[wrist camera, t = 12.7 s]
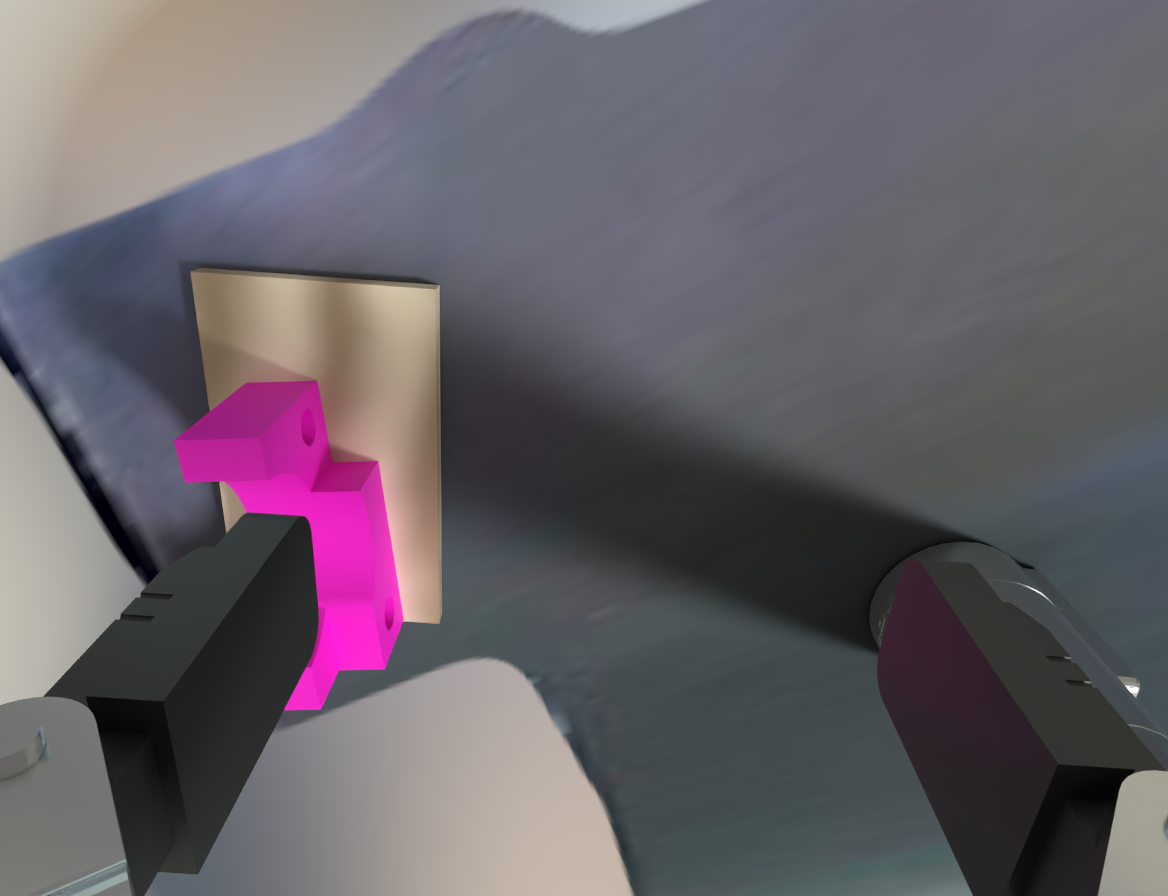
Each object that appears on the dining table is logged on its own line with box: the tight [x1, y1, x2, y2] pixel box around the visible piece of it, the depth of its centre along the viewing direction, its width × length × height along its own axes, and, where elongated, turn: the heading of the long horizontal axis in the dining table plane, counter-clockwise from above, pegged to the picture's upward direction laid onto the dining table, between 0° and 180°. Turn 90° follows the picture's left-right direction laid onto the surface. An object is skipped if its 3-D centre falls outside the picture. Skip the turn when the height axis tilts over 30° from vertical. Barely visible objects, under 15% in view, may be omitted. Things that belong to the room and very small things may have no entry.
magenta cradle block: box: [174, 381, 404, 710], centre depth 40 cm, size 15×6×8 cm, turn 2°
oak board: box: [190, 268, 442, 624], centre depth 43 cm, size 12×20×1 cm, turn 176°
